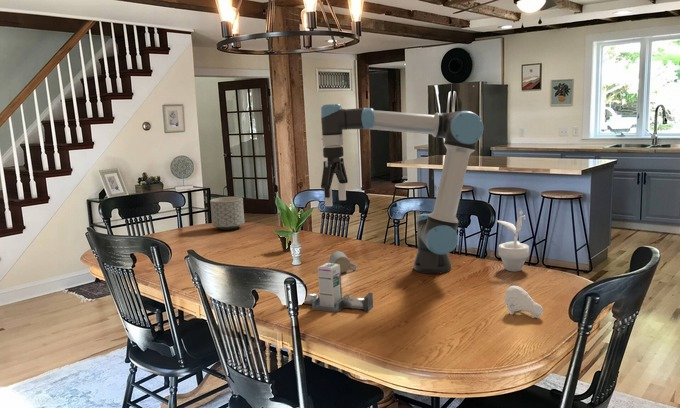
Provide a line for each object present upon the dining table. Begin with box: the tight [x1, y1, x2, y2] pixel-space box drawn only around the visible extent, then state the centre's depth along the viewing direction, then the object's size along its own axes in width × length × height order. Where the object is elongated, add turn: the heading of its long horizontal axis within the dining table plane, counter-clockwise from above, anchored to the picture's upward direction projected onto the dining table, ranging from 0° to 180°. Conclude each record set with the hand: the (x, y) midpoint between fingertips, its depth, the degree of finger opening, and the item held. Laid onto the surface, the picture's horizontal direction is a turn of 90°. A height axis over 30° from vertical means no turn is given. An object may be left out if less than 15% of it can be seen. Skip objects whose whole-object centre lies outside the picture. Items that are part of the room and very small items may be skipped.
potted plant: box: [496, 208, 530, 273], centre depth 213 cm, size 13×12×25 cm
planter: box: [209, 196, 246, 231], centre depth 322 cm, size 19×19×18 cm
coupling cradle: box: [303, 292, 374, 313], centre depth 183 cm, size 29×10×5 cm, turn 68°
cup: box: [277, 234, 291, 253], centre depth 262 cm, size 9×9×10 cm
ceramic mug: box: [328, 250, 357, 274], centre depth 224 cm, size 11×8×8 cm
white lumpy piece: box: [503, 285, 544, 319], centre depth 167 cm, size 6×8×12 cm
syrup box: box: [317, 262, 343, 307], centre depth 183 cm, size 6×6×14 cm
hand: (335, 203), depth 202 cm, fingers open, 13 cm apart
